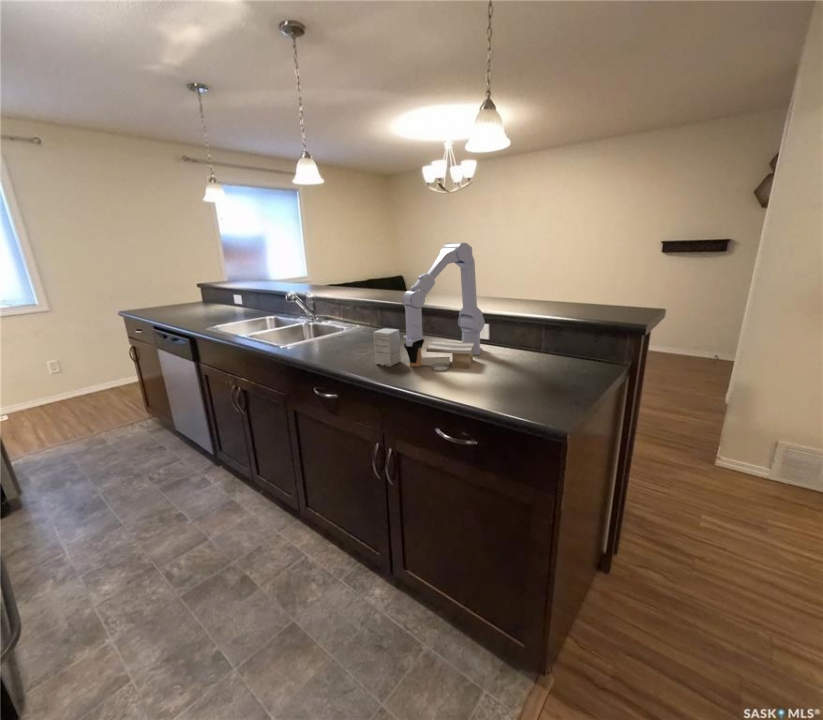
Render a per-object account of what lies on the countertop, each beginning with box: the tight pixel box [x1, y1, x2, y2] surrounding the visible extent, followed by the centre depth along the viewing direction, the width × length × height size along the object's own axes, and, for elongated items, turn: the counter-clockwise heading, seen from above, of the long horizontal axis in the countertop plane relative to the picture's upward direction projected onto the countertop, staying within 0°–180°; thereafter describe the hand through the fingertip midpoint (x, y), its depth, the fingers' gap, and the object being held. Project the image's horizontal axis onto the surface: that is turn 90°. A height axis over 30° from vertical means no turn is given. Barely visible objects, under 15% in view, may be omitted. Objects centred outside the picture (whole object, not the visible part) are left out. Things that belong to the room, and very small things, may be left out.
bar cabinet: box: [426, 341, 474, 369], centre depth 144 cm, size 11×16×7 cm
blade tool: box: [409, 348, 451, 367], centre depth 142 cm, size 4×14×6 cm, turn 82°
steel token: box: [431, 363, 450, 373], centre depth 138 cm, size 6×6×2 cm
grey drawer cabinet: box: [372, 327, 402, 367], centre depth 145 cm, size 7×7×13 cm
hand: (414, 360), depth 143 cm, fingers closed on blade tool, 4 cm apart
